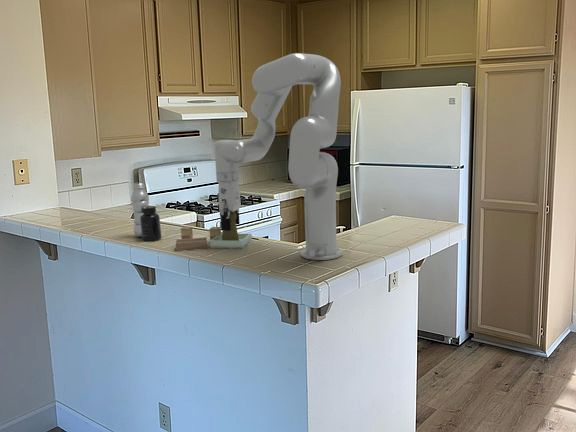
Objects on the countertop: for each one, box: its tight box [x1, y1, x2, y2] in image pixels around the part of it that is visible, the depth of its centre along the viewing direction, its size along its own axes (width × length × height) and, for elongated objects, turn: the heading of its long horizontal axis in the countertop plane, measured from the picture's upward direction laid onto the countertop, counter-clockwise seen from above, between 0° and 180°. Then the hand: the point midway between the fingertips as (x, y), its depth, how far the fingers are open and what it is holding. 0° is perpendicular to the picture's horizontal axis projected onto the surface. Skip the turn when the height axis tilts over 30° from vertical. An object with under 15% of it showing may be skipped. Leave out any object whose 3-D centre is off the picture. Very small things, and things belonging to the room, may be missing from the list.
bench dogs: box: [180, 226, 222, 241], centre depth 199 cm, size 3×14×5 cm, turn 77°
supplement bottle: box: [140, 205, 162, 242], centre depth 205 cm, size 7×7×12 cm
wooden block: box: [175, 237, 208, 251], centre depth 191 cm, size 6×10×3 cm, turn 98°
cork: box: [221, 211, 239, 241], centre depth 193 cm, size 6×6×11 cm
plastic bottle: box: [130, 182, 150, 238], centre depth 209 cm, size 6×7×20 cm
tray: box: [209, 232, 253, 249], centre depth 194 cm, size 11×11×2 cm
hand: (230, 227), depth 193 cm, fingers open, 9 cm apart
